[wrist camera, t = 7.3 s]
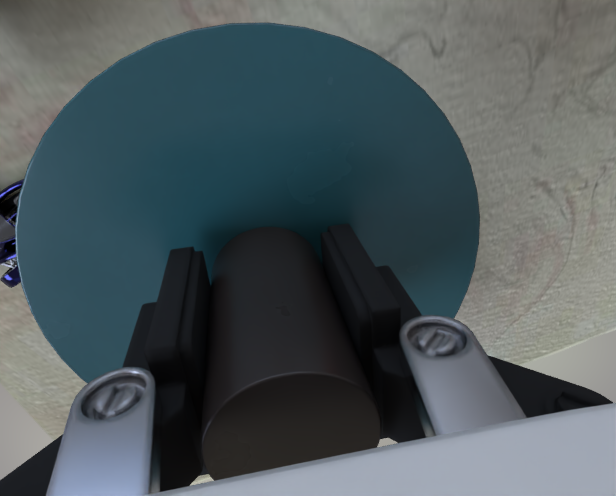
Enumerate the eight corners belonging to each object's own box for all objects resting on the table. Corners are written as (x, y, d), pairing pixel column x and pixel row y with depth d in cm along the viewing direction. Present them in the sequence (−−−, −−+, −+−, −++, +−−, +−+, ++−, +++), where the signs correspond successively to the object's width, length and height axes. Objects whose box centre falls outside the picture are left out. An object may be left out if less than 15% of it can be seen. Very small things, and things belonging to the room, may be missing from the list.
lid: (-57, 51, 9) (-516, 84, 4) (481, 0, 11) (779, -35, 5) (110, 440, 15) (37, 697, 9) (449, 376, 16) (570, 566, 11)
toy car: (12, 281, 31) (-15, 313, 27) (-73, 214, 28) (-116, 240, 24) (144, 184, 29) (132, 204, 26) (68, 102, 26) (43, 113, 23)
